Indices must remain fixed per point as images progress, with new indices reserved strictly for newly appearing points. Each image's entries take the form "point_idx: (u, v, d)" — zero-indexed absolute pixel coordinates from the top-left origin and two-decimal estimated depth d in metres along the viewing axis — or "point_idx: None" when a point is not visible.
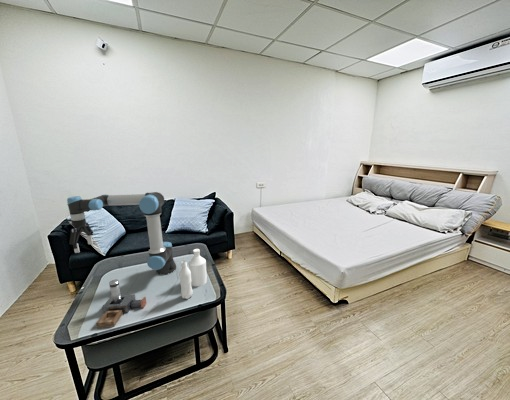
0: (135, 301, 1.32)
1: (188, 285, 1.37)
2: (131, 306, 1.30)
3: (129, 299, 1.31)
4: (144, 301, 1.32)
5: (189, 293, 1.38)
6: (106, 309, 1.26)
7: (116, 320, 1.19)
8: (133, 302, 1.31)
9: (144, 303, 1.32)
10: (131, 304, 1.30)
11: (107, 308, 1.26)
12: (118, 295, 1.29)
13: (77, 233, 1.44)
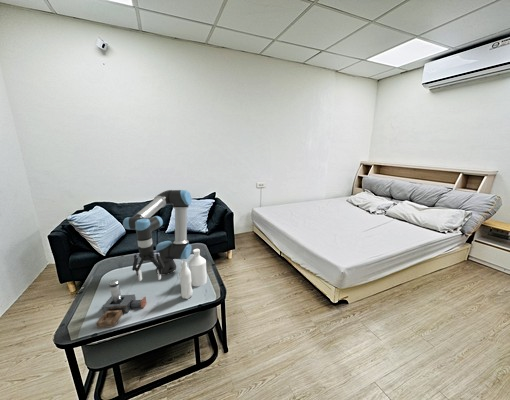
0: (135, 301, 1.32)
1: (188, 285, 1.37)
2: (131, 306, 1.30)
3: (129, 299, 1.31)
4: (144, 301, 1.32)
5: (189, 293, 1.38)
6: (106, 309, 1.26)
7: (116, 320, 1.19)
8: (133, 302, 1.31)
9: (144, 303, 1.32)
10: (131, 304, 1.30)
11: (107, 308, 1.26)
12: (118, 295, 1.29)
13: None
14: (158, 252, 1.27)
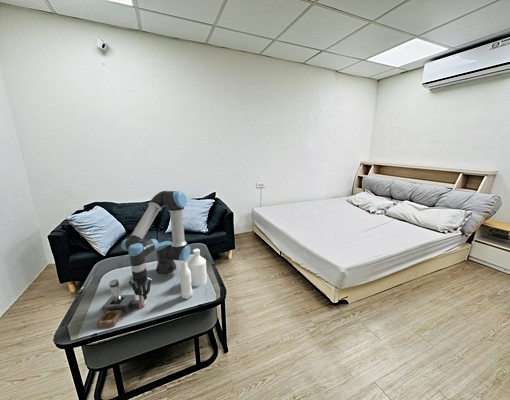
0: (133, 301, 1.32)
1: (188, 285, 1.37)
2: None
3: (129, 299, 1.31)
4: None
5: (189, 293, 1.38)
6: (106, 309, 1.26)
7: (116, 320, 1.19)
8: (131, 302, 1.31)
9: None
10: None
11: (107, 308, 1.26)
12: (118, 295, 1.29)
13: None
14: (151, 278, 1.30)
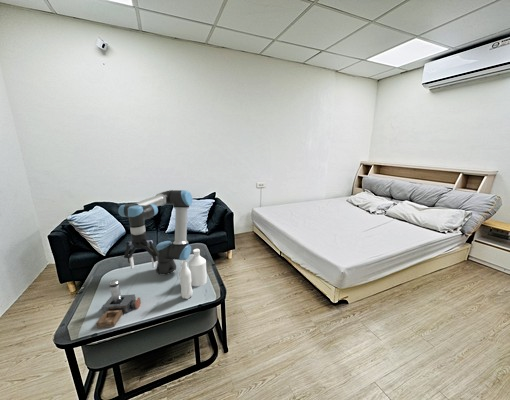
0: None
1: (188, 285, 1.37)
2: None
3: (129, 299, 1.31)
4: (138, 301, 1.32)
5: (189, 293, 1.38)
6: (106, 309, 1.26)
7: (116, 320, 1.19)
8: None
9: (138, 304, 1.31)
10: None
11: (107, 308, 1.26)
12: (118, 295, 1.29)
13: (133, 248, 1.24)
14: None
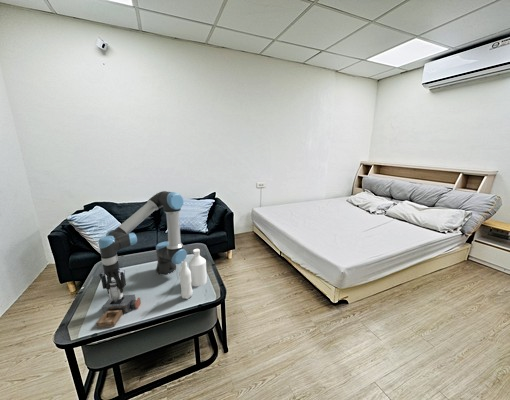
0: None
1: (188, 285, 1.37)
2: None
3: (129, 299, 1.31)
4: (138, 301, 1.32)
5: (189, 293, 1.38)
6: (106, 309, 1.26)
7: (116, 320, 1.19)
8: None
9: (138, 304, 1.31)
10: None
11: (107, 308, 1.26)
12: (118, 295, 1.29)
13: None
14: None
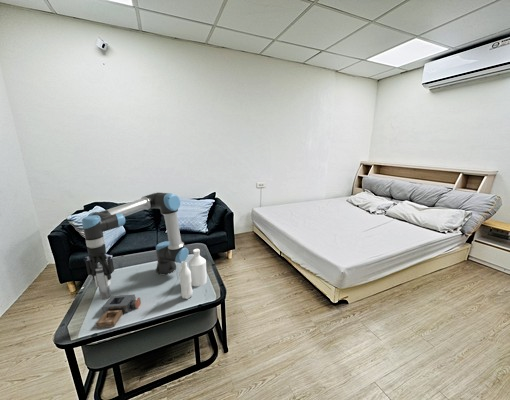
0: None
1: (188, 285, 1.37)
2: None
3: (129, 299, 1.31)
4: (138, 301, 1.32)
5: (189, 293, 1.38)
6: (106, 309, 1.26)
7: (116, 320, 1.19)
8: None
9: (138, 304, 1.31)
10: None
11: (107, 308, 1.26)
12: (105, 282, 1.15)
13: None
14: (111, 255, 1.14)
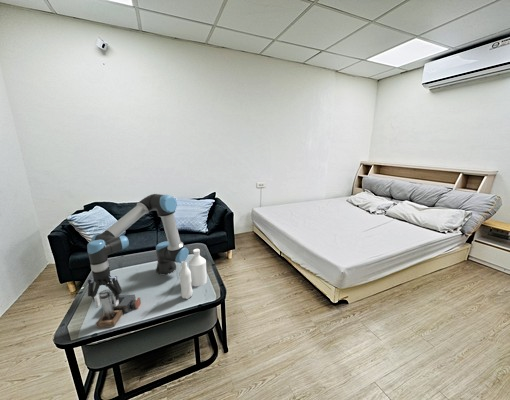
0: None
1: (188, 285, 1.37)
2: None
3: (129, 299, 1.31)
4: (138, 301, 1.32)
5: (189, 293, 1.38)
6: None
7: (116, 320, 1.19)
8: None
9: (138, 304, 1.31)
10: None
11: None
12: (109, 307, 1.18)
13: (96, 285, 1.15)
14: (115, 276, 1.17)
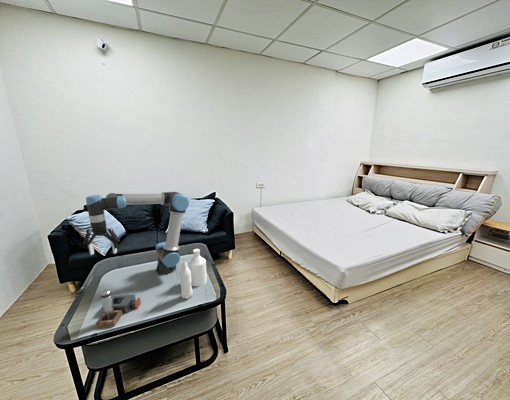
0: None
1: (188, 285, 1.37)
2: None
3: (129, 299, 1.31)
4: (138, 301, 1.32)
5: (189, 293, 1.38)
6: None
7: (116, 320, 1.19)
8: None
9: (138, 304, 1.31)
10: None
11: None
12: (110, 306, 1.18)
13: (92, 235, 1.30)
14: None
